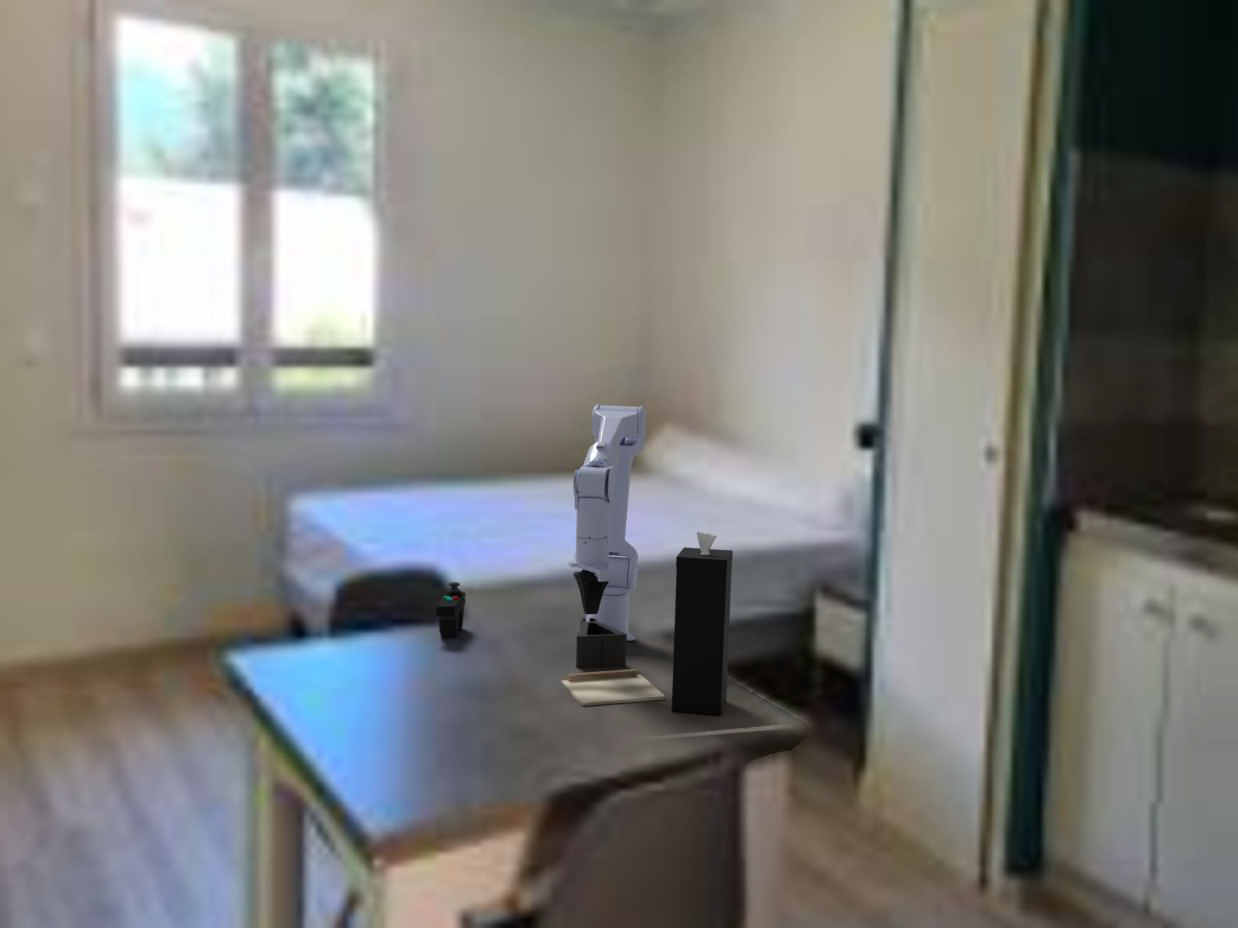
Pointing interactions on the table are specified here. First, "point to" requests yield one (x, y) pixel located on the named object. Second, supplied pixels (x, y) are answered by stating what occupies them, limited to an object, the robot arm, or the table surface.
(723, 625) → the tissue box
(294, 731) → the table surface
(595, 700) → the book stand
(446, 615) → the controller
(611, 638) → the dark grey open container
